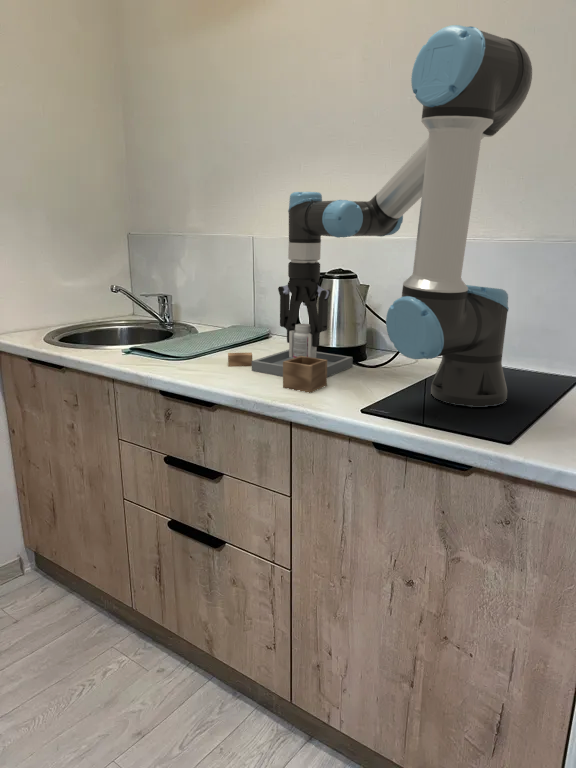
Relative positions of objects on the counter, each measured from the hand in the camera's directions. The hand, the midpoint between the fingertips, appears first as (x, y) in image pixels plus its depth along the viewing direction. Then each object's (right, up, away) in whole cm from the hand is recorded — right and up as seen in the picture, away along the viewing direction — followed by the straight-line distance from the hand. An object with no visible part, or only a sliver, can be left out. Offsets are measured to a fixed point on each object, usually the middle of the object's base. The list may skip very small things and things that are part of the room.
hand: (302, 357), depth 141 cm
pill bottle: (0, 0, 0) cm, 1 cm away
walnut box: (0, -7, -14) cm, 16 cm away
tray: (0, -3, +1) cm, 3 cm away
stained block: (-16, -2, +4) cm, 16 cm away
